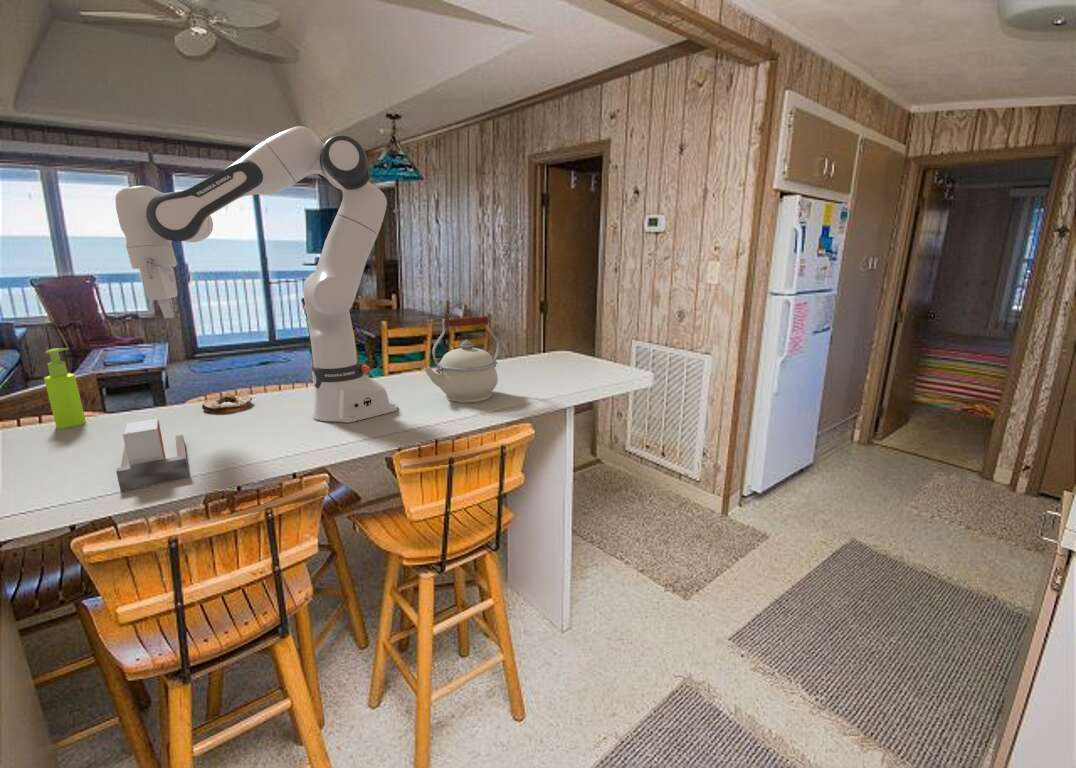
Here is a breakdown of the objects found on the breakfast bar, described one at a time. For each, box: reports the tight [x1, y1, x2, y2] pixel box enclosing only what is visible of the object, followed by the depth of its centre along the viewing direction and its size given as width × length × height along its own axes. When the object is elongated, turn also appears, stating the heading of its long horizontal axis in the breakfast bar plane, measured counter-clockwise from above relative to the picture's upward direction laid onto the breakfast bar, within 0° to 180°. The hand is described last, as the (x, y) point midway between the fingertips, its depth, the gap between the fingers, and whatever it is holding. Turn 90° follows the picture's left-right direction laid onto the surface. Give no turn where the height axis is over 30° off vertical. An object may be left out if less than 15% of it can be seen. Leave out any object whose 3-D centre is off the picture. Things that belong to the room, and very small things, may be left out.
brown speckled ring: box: [201, 394, 253, 416], centre depth 150 cm, size 15×15×4 cm
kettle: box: [422, 315, 500, 404], centre depth 157 cm, size 25×18×25 cm
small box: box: [122, 418, 167, 465], centre depth 105 cm, size 8×6×10 cm
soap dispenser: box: [43, 347, 87, 429], centre depth 133 cm, size 6×7×20 cm
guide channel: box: [115, 434, 190, 492], centre depth 111 cm, size 11×23×4 cm, turn 35°
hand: (169, 317), depth 126 cm, fingers closed
